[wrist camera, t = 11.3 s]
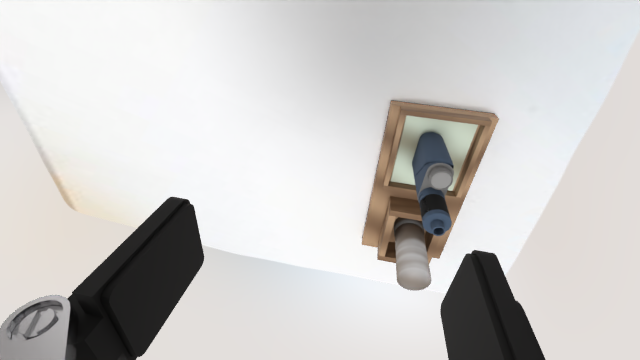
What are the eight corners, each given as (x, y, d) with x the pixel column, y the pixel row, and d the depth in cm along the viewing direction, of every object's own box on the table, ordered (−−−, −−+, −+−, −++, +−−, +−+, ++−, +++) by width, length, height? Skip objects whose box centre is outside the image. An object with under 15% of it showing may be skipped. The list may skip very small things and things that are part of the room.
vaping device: (408, 168, 35) (418, 239, 25) (421, 127, 32) (438, 189, 22) (430, 172, 35) (449, 245, 25) (445, 131, 32) (473, 195, 22)
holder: (391, 100, 33) (393, 140, 24) (494, 113, 32) (535, 160, 23) (362, 237, 45) (357, 297, 36) (437, 250, 44) (451, 316, 35)
